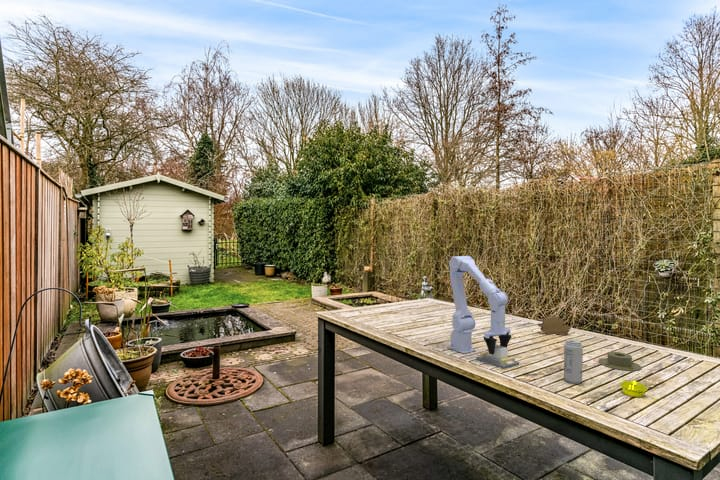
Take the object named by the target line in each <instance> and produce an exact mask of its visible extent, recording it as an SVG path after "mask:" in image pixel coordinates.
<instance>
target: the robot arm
mask: <svg viewBox="0 0 720 480" xmlns="http://www.w3.org/2000/svg"><path fill="white" fill-rule="evenodd" d="M448 264H449V278H450V285H451V290H452V295H453V296H452V297H453V300H454V301H453V302H454V307H455V312H454V313H453V314H452V316H451V317H452V322H451V325H452V328H453V330H451V333H450V347H448V348H449V350H452V351H454V352H455V351H456V352H458V353H461V354H467V353H472V352H476V349H474V348H472V347H473V346H472V343H473V342H472V340H473V338H472V337H473V336H472V333H473V330H474V329H475V327H476V319H475V318H474V316H473V313H472V312H471V311H470V310H469V308H468V303H467V297H466V292H465V291H466V290H465V286H464V280H463V276H464V275H465V273H467V272H468V274H470V275H471V276H472V278H473V279H475V280H476V282H477V283H478V287H479V289H480V290H481V291H482V292H483V294H484V295H485V296H486V297H487V302H488V305H489V310H490V330H488V331H485V332H484V333H483V340H484V342H485V344H486V348H487V352H488V351H489V354H492V355H494V352H495V344H496V345H497V341H498V339H499V345H500V346H503V347H506V348H508V344H509V342H510V340H511V339H512V334H511V329H510V328H506V305H507V304H508V302H509V297H508V296H509V295H507V293H506V292H505V291H502V290H500V289H499V288H498V287H497V286H496V285H495V284H494V281H493V280H492V279H490V278H486V276H485V275H484V274H483V273H482V272H481V270H480V269H479V268H478V267H477V265H476V262H475V260H474V259H473V257H472V256H470V255H460V256H459V255H454V256H452V257H451V258H450V260H449V261H448ZM495 337H498V339H497V338H495Z"/></svg>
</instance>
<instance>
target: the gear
mask: <svg viewBox="0 0 720 480" xmlns="http://www.w3.org/2000/svg"><path fill="white" fill-rule="evenodd" d="M619 386H620V387H621V388H622V393H623V394H624V395H626V396H629V397H633V398H644V397H645V392H647V391H648V387H647V386H645V384H643V383H642V382H640V381H636V380H628V379H626V380H622V381H621V382H619Z"/></svg>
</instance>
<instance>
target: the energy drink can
mask: <svg viewBox="0 0 720 480" xmlns="http://www.w3.org/2000/svg"><path fill="white" fill-rule="evenodd" d="M563 346H564V347H563V379H564V380H565V381H566V382H567V383H569V384H574V385H580V384H581V382H583V359H584V358H583V351H584V349H583V348H584V347H583V345H582V342H581V341H580V340H578V339H571V338H569V339H566V340H565V342H564V344H563Z"/></svg>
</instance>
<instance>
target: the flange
mask: <svg viewBox="0 0 720 480" xmlns="http://www.w3.org/2000/svg"><path fill="white" fill-rule="evenodd" d="M598 364H600V365H601V366H603V367H606V368H607V369H612V370H616V371H623V372H639V371H640V372H641V370H642V366H641V365H640V364H638V363H636V362H634V361H633V355H631V354H629V353H624V352H620V351H608V352H607V357H603V358H599V359H598Z"/></svg>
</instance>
